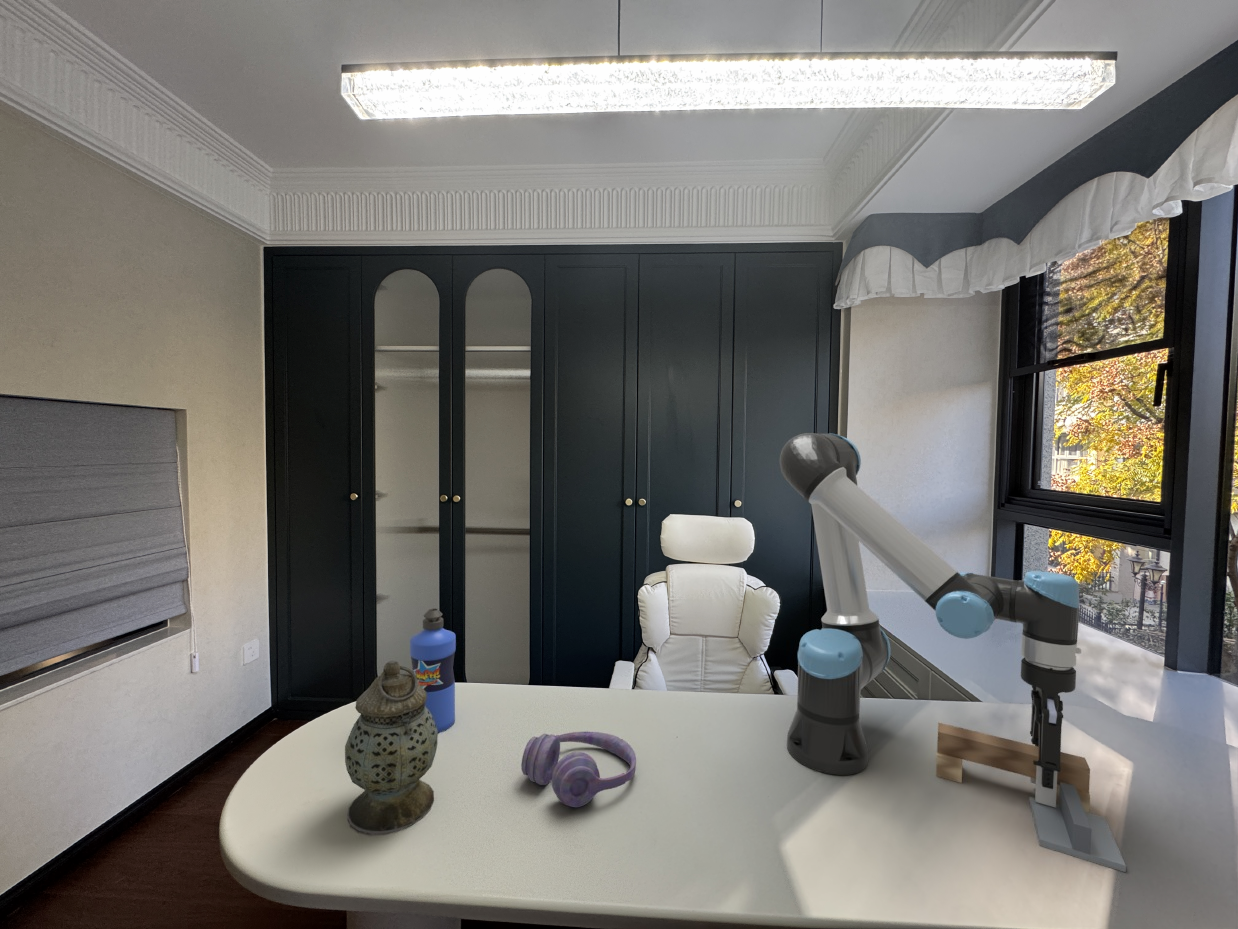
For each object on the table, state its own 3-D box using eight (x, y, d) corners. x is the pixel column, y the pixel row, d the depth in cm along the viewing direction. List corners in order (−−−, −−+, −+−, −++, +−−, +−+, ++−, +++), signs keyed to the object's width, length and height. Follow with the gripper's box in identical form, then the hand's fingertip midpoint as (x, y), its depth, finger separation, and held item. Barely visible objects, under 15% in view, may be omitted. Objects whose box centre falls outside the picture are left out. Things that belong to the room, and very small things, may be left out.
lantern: (441, 777, 100) (441, 642, 99) (431, 831, 86) (431, 675, 85) (358, 786, 97) (357, 647, 96) (334, 844, 83) (333, 683, 82)
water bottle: (447, 735, 114) (447, 617, 113) (403, 734, 114) (402, 616, 113) (461, 713, 123) (461, 603, 122) (419, 712, 123) (419, 602, 122)
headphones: (574, 826, 87) (652, 789, 101) (580, 773, 87) (658, 743, 102) (506, 777, 99) (585, 749, 114) (512, 730, 100) (590, 709, 114)
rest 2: (1058, 810, 93) (1059, 787, 93) (1052, 791, 98) (1053, 769, 98) (1088, 819, 91) (1090, 795, 91) (1081, 798, 96) (1082, 776, 96)
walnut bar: (937, 752, 103) (938, 731, 103) (937, 742, 106) (938, 722, 106) (1088, 792, 91) (1090, 769, 91) (1083, 780, 95) (1085, 757, 95)
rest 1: (936, 776, 102) (937, 755, 102) (936, 760, 107) (937, 740, 107) (961, 783, 100) (962, 761, 100) (960, 766, 105) (961, 746, 105)
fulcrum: (1039, 845, 85) (1041, 814, 84) (1029, 802, 95) (1030, 774, 95) (1125, 872, 80) (1127, 839, 79) (1104, 823, 90) (1106, 794, 90)
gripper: (1088, 686, 85) (1081, 833, 86) (1065, 651, 101) (1060, 774, 102) (1028, 675, 89) (1022, 815, 89) (1015, 642, 105) (1010, 761, 106)
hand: (1042, 793), depth 96 cm, fingers open, 6 cm apart
